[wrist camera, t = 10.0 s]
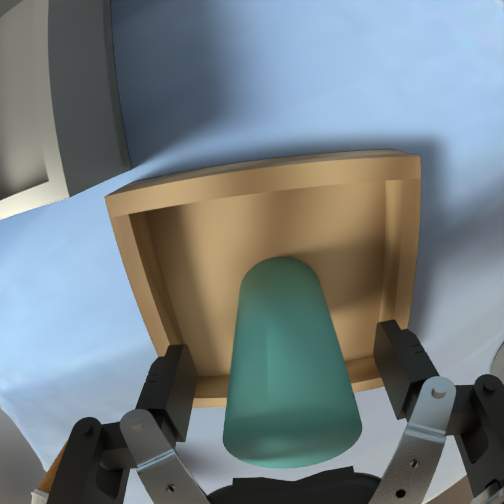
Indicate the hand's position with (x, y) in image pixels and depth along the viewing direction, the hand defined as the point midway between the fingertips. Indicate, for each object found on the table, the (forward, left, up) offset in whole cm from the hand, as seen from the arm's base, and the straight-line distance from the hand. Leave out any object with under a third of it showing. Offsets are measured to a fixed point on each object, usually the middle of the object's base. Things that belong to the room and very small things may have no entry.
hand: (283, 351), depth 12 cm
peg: (0, 0, -5) cm, 5 cm away
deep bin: (+14, -15, -6) cm, 21 cm away
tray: (0, 0, -6) cm, 6 cm away
